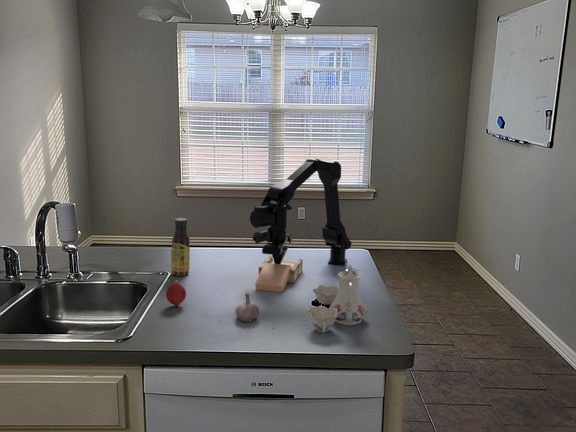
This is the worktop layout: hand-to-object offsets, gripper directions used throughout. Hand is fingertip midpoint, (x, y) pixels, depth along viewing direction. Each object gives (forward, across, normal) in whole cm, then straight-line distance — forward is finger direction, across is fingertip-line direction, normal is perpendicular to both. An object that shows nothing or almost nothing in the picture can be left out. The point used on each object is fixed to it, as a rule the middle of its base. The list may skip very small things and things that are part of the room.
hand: (277, 267), depth 191 cm
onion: (+5, +32, -23) cm, 40 cm away
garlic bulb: (+5, +35, 0) cm, 36 cm away
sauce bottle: (+4, +4, -34) cm, 34 cm away
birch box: (+4, -5, 0) cm, 6 cm away
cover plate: (+2, +6, 0) cm, 7 cm away
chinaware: (+5, +28, +25) cm, 38 cm away
